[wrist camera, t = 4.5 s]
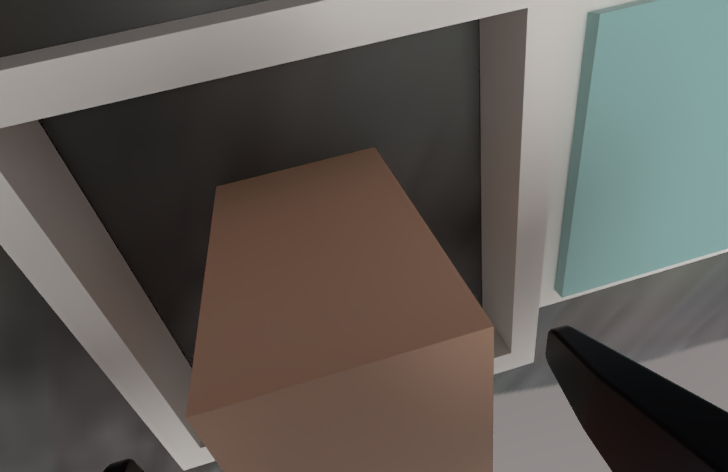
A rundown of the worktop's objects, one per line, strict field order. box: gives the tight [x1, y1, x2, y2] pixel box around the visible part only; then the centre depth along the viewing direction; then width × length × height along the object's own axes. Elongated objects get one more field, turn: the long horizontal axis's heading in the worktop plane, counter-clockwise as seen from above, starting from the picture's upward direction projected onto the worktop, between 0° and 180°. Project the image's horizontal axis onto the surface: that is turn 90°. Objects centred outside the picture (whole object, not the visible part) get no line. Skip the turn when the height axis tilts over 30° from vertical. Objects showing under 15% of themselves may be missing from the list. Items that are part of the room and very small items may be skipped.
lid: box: [539, 0, 728, 308], centre depth 15 cm, size 13×12×1 cm
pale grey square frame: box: [0, 0, 568, 470], centre depth 14 cm, size 14×15×2 cm
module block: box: [186, 147, 494, 472], centre depth 12 cm, size 5×5×8 cm
